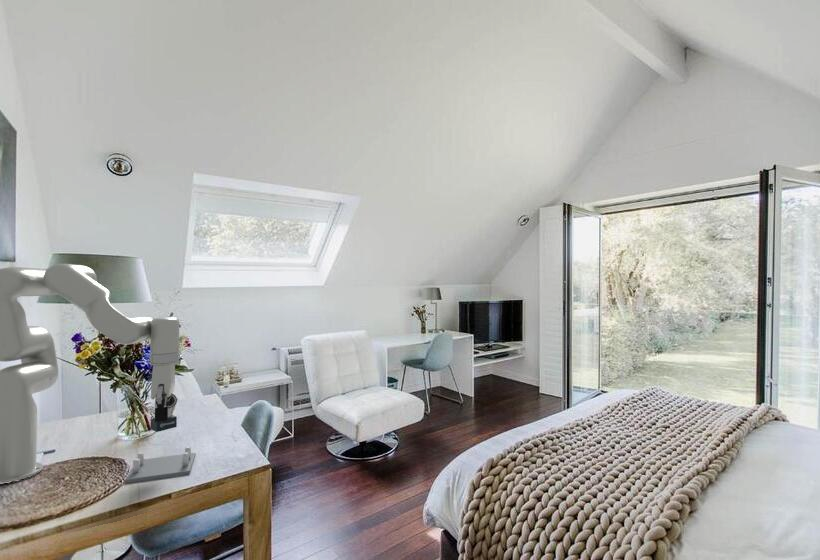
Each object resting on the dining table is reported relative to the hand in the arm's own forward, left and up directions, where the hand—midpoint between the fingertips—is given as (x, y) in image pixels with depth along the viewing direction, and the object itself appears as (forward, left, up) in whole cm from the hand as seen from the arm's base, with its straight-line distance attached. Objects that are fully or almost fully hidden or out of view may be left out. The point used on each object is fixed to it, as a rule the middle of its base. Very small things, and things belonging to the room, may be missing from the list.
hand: (164, 416), depth 124 cm
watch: (0, 0, -4) cm, 4 cm away
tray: (0, 0, -16) cm, 16 cm away
